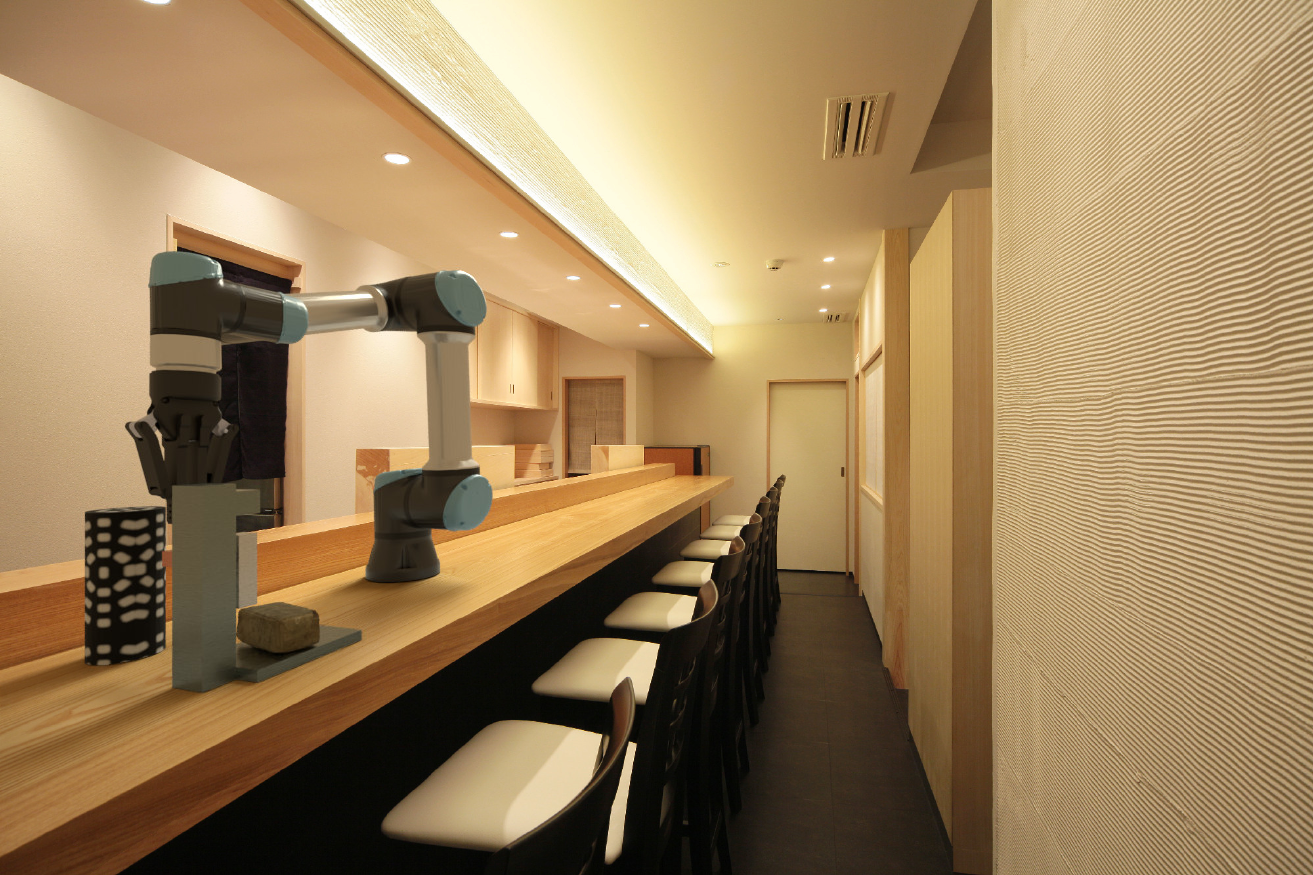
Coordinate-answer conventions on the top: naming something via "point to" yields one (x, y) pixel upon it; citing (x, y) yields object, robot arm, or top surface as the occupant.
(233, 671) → the press
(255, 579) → the hammer
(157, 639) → the white-spotted black cylinder
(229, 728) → the top surface
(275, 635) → the stone block
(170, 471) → the robot arm
